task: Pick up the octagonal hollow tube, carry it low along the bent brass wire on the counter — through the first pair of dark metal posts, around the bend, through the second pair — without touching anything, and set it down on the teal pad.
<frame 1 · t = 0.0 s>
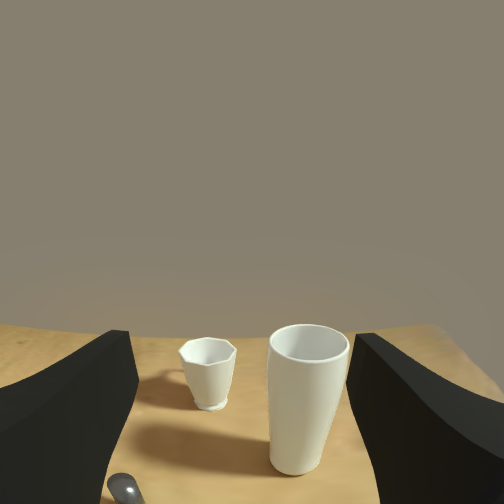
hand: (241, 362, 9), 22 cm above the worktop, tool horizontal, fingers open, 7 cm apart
cup: (210, 395, 39), on the worktop
drinking glass: (294, 460, 28), on the worktop
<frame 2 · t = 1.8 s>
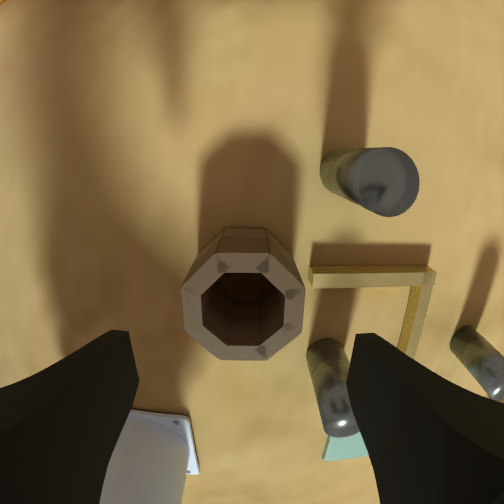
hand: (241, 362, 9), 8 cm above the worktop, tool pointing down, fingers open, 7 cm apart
octagonal hollow tube: (244, 272, 17), on the worktop
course: (419, 271, 17), on the worktop
pad: (377, 423, 21), on the worktop
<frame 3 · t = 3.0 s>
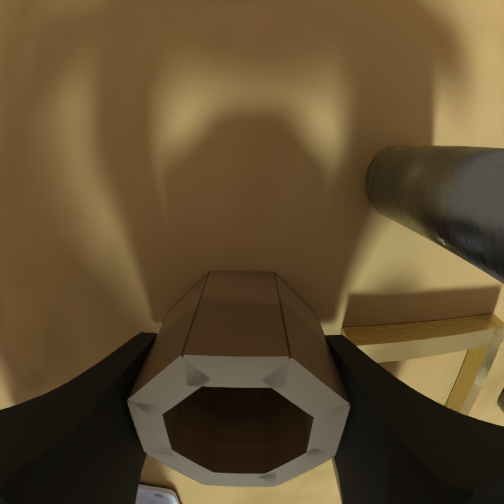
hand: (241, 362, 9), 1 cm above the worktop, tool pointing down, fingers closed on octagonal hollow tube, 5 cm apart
octagonal hollow tube: (242, 339, 11), on the worktop, touching gripper
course: (483, 322, 11), on the worktop
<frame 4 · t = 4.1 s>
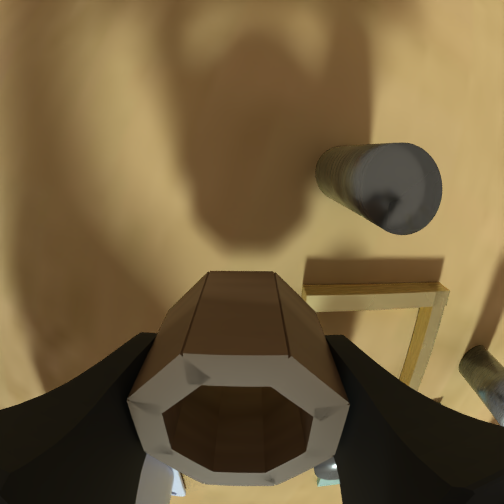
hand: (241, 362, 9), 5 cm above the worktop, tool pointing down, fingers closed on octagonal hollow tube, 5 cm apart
octagonal hollow tube: (241, 338, 11), point 4 cm above the worktop, touching gripper
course: (429, 289, 15), on the worktop
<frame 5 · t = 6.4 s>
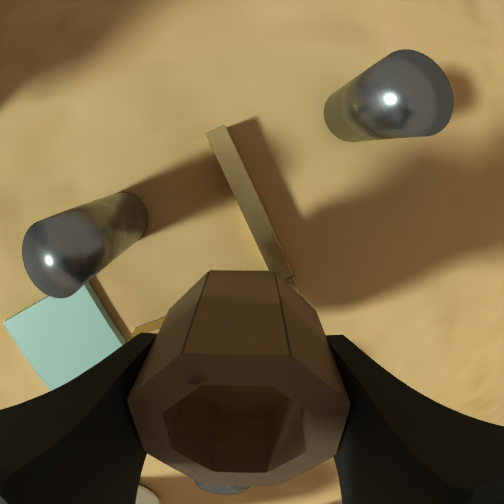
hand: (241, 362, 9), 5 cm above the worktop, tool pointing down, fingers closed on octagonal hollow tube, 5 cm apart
octagonal hollow tube: (242, 337, 11), point 4 cm above the worktop, touching gripper
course: (284, 276, 14), on the worktop
pad: (76, 357, 16), on the worktop
drinking glass: (132, 489, 21), on the worktop
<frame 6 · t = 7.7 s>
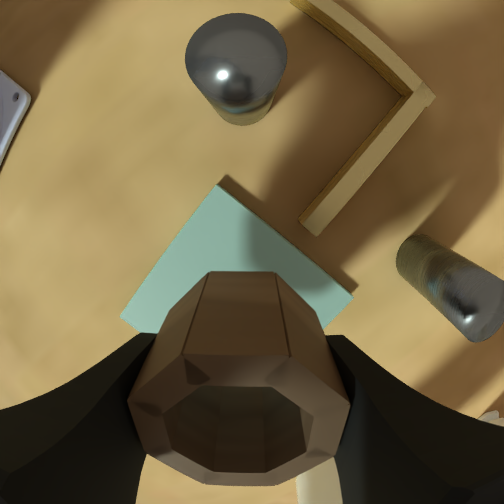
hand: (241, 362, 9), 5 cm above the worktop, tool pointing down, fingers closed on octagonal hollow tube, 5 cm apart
octagonal hollow tube: (242, 338, 11), point 4 cm above the worktop, touching gripper
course: (412, 97, 12), on the worktop
pad: (232, 305, 15), on the worktop
drinking glass: (329, 468, 19), on the worktop
when the fingers open (3 cm above the worktop, at t = 9.1 s): octagonal hollow tube stays where it is, resting on pad.
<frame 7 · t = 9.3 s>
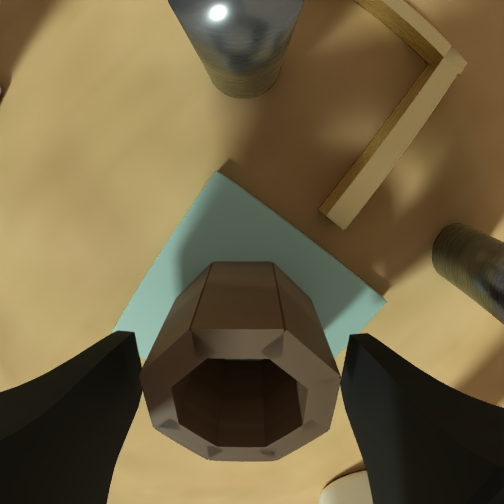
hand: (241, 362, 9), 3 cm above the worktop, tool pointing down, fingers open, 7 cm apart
octagonal hollow tube: (243, 324, 12), resting on pad
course: (439, 65, 9), on the worktop
pad: (243, 318, 12), on the worktop
drinking glass: (354, 483, 17), on the worktop
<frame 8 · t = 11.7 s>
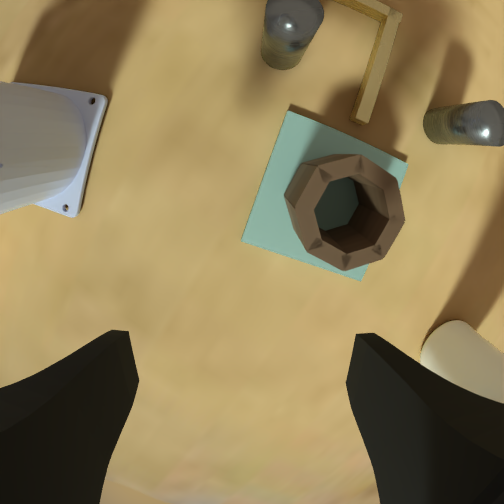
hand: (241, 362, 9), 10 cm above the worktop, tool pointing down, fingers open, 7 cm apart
octagonal hollow tube: (329, 199, 18), resting on pad
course: (387, 20, 15), on the worktop
pad: (327, 198, 18), on the worktop
drinking glass: (442, 343, 22), on the worktop
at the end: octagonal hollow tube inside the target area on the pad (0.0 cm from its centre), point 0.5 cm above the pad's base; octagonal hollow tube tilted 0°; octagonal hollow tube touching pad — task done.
